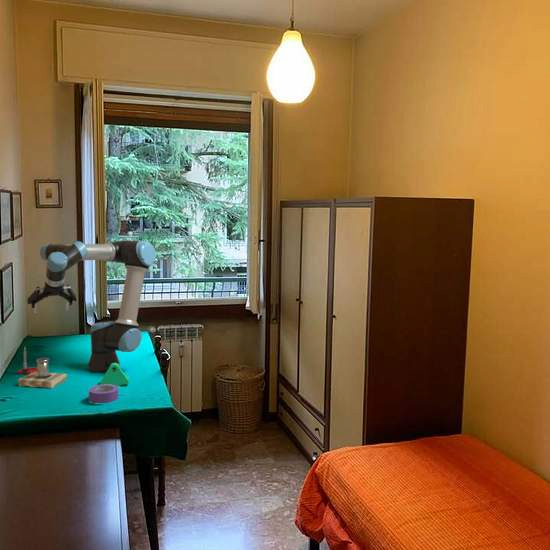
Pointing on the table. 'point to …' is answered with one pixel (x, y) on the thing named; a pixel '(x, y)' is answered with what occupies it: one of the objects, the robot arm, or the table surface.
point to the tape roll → (103, 393)
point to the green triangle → (114, 376)
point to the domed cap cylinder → (42, 368)
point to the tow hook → (25, 369)
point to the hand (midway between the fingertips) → (51, 309)
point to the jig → (42, 380)
